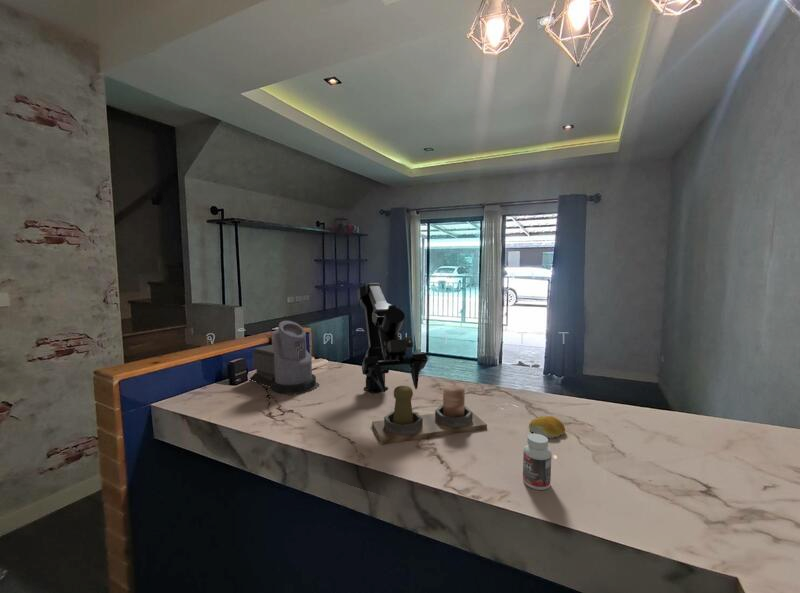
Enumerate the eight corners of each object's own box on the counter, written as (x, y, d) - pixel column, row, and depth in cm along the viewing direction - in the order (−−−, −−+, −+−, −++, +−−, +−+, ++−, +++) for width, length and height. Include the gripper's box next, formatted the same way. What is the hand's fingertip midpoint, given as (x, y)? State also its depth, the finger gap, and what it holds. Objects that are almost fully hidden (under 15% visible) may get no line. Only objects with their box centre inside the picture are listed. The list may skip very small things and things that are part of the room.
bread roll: (570, 433, 97) (570, 419, 97) (550, 442, 92) (550, 427, 92) (543, 422, 104) (543, 408, 103) (523, 430, 99) (523, 416, 99)
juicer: (327, 385, 135) (326, 321, 133) (292, 398, 122) (290, 327, 120) (278, 371, 153) (276, 314, 150) (243, 381, 140) (240, 319, 137)
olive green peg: (406, 419, 102) (406, 382, 101) (418, 427, 97) (418, 388, 96) (388, 424, 99) (388, 385, 98) (399, 433, 94) (399, 392, 93)
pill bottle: (518, 483, 74) (519, 438, 74) (528, 472, 79) (529, 429, 78) (545, 494, 71) (547, 447, 70) (554, 482, 75) (555, 437, 74)
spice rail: (381, 444, 91) (381, 405, 90) (372, 425, 101) (371, 390, 100) (486, 428, 99) (487, 392, 98) (468, 412, 110) (468, 380, 109)
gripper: (363, 329, 100) (371, 380, 91) (426, 325, 105) (440, 373, 96) (358, 349, 109) (366, 398, 99) (416, 345, 114) (429, 391, 104)
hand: (400, 390), depth 99 cm, fingers open, 9 cm apart
